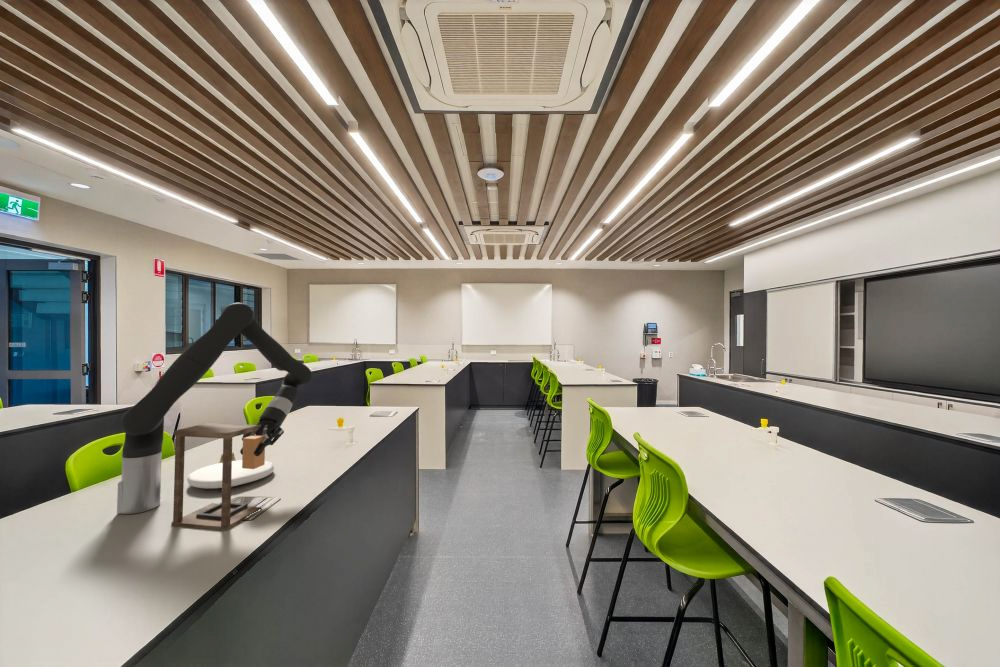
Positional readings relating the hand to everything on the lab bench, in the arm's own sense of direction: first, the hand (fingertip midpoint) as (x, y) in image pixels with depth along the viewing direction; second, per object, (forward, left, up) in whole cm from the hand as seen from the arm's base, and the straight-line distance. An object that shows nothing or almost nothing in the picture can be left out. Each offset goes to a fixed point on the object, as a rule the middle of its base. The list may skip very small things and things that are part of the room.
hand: (249, 454), depth 126 cm
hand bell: (-18, +46, -16) cm, 51 cm away
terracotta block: (+1, +2, -5) cm, 5 cm away
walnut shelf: (-6, -10, -16) cm, 19 cm away
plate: (-11, +26, -16) cm, 32 cm away
